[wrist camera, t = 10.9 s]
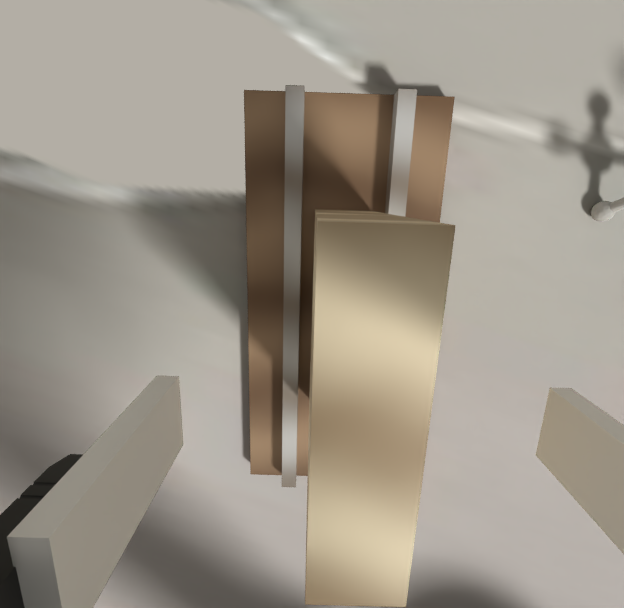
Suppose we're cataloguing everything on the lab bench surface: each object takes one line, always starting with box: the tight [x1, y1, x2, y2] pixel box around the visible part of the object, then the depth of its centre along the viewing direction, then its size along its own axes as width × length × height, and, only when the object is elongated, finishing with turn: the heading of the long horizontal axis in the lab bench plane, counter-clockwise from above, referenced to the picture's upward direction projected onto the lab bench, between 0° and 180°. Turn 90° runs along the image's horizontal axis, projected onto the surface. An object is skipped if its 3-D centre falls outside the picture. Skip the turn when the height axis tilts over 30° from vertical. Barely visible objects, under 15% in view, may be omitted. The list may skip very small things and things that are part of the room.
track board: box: [244, 85, 454, 487], centre depth 25 cm, size 26×12×2 cm, turn 178°
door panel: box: [305, 209, 455, 607], centre depth 18 cm, size 13×4×14 cm, turn 178°
